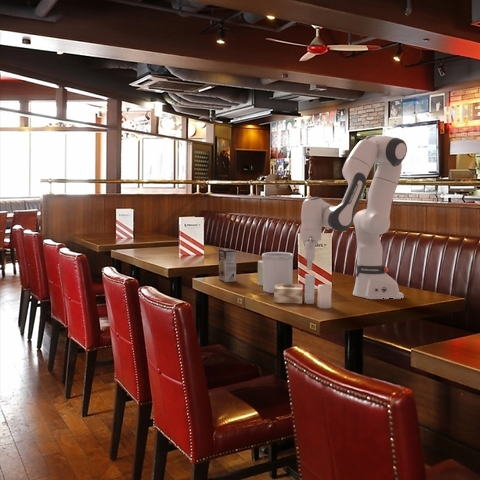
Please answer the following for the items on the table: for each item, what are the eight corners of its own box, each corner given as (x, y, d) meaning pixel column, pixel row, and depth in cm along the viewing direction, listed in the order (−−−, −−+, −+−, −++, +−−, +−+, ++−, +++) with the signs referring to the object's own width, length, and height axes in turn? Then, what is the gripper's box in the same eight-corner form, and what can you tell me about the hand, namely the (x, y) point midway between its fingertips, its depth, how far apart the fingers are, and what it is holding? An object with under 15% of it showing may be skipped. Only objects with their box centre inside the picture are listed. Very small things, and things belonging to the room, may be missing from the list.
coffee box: (218, 279, 288) (218, 248, 287) (229, 278, 291) (229, 248, 289) (225, 282, 280) (225, 250, 278) (236, 281, 283) (236, 250, 281)
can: (276, 286, 271) (276, 262, 269) (257, 285, 271) (257, 261, 270) (275, 282, 280) (275, 259, 279) (257, 282, 280) (257, 259, 279)
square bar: (313, 301, 236) (314, 274, 235) (314, 303, 232) (314, 275, 231) (304, 301, 237) (305, 274, 235) (304, 303, 233) (305, 275, 231)
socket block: (302, 297, 245) (302, 284, 244) (302, 303, 233) (302, 289, 232) (275, 296, 246) (275, 283, 245) (273, 302, 234) (274, 288, 233)
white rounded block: (330, 305, 229) (331, 284, 228) (331, 308, 224) (331, 286, 223) (317, 305, 230) (317, 283, 229) (317, 308, 224) (317, 286, 223)
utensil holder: (265, 294, 251) (266, 256, 249) (258, 287, 266) (258, 252, 264) (296, 293, 254) (297, 255, 252) (287, 287, 269) (288, 251, 267)
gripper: (318, 238, 221) (317, 272, 222) (317, 233, 241) (316, 265, 242) (303, 237, 221) (301, 271, 223) (303, 233, 241) (301, 264, 243)
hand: (309, 268), depth 233 cm, fingers open, 8 cm apart
